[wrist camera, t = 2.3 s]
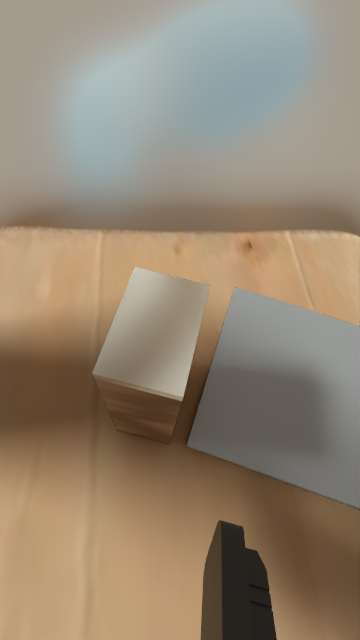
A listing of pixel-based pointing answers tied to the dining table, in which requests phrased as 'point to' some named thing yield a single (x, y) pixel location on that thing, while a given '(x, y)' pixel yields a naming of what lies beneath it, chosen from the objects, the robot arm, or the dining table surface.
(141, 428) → the brown rectangular block
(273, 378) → the felt mat
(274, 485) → the dining table surface
